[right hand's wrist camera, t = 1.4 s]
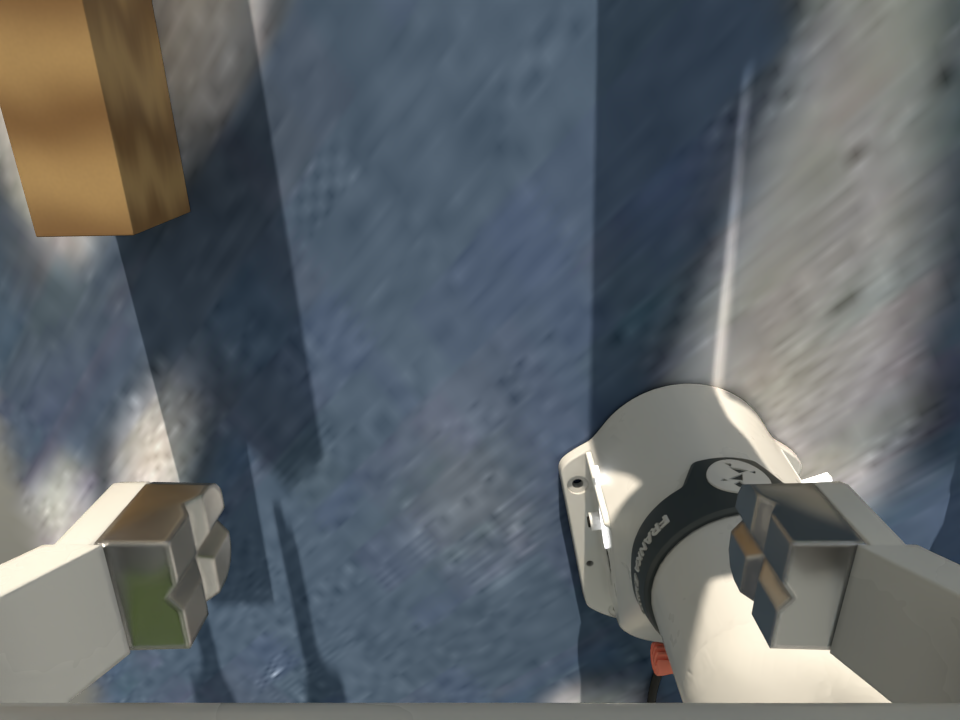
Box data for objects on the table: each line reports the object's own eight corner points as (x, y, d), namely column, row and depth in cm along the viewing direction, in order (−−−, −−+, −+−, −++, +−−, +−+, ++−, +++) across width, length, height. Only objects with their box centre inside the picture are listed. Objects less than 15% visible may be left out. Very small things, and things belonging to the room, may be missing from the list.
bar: (190, 211, 44) (133, 235, 37) (109, 213, 44) (35, 237, 37) (110, -227, 35) (14, -310, 28) (8, -225, 35) (-115, -306, 28)
